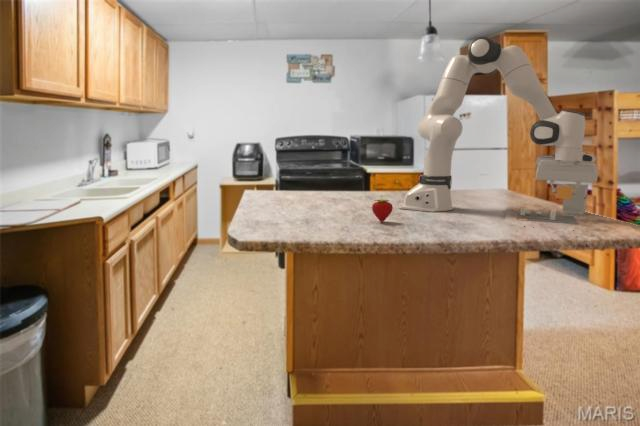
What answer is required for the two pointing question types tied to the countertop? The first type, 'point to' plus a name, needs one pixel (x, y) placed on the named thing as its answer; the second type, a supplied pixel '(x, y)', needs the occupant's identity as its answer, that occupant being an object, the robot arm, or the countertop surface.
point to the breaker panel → (546, 218)
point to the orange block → (564, 192)
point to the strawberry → (382, 209)
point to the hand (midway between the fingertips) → (563, 193)
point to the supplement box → (576, 200)
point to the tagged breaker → (553, 215)
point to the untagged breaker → (522, 210)
